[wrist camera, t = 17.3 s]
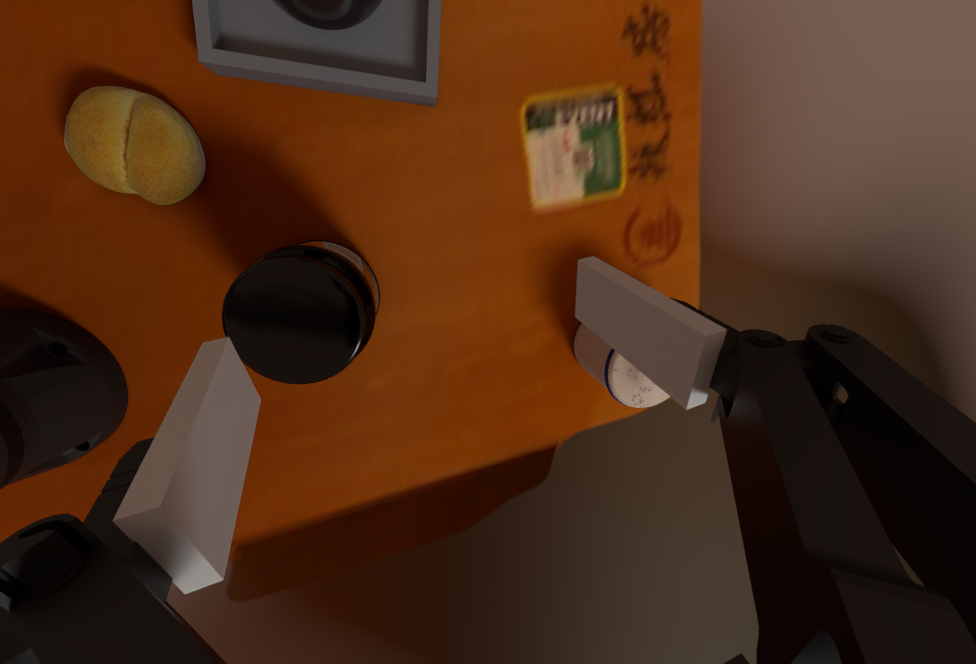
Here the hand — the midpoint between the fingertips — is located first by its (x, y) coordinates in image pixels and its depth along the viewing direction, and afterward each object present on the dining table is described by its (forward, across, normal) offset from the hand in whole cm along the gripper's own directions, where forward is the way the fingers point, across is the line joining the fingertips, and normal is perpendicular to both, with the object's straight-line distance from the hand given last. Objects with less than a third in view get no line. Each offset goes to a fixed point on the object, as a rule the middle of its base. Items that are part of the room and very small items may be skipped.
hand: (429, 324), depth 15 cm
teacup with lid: (+20, +25, -19) cm, 37 cm away
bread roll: (+31, -17, +5) cm, 36 cm away
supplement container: (+26, -6, -8) cm, 28 cm away
